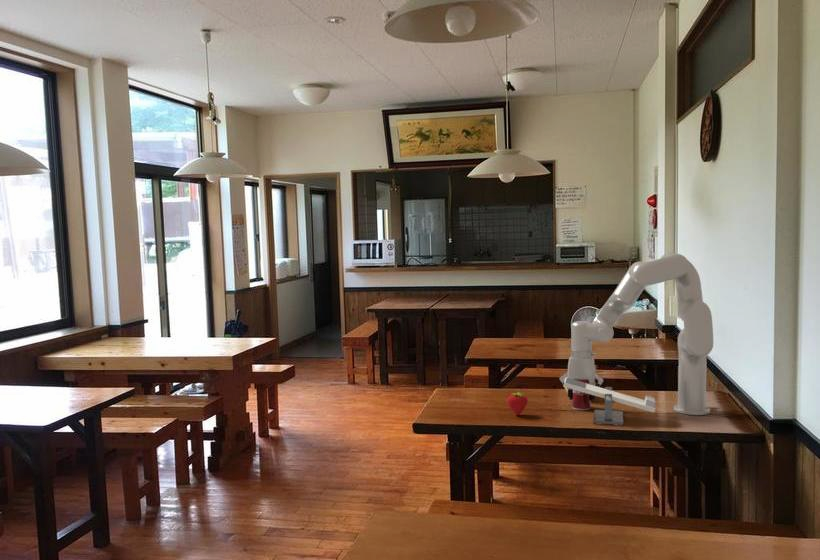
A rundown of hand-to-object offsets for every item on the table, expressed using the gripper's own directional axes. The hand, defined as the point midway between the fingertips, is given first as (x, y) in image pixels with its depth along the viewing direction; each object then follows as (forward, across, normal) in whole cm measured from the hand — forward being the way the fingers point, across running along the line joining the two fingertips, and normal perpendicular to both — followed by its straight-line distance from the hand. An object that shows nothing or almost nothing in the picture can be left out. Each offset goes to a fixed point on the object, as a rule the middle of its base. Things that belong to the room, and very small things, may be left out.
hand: (581, 399), depth 258 cm
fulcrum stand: (+3, -10, +13) cm, 17 cm away
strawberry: (+4, +22, +15) cm, 27 cm away
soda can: (+4, 0, 0) cm, 4 cm away
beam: (-6, -10, +13) cm, 17 cm away
